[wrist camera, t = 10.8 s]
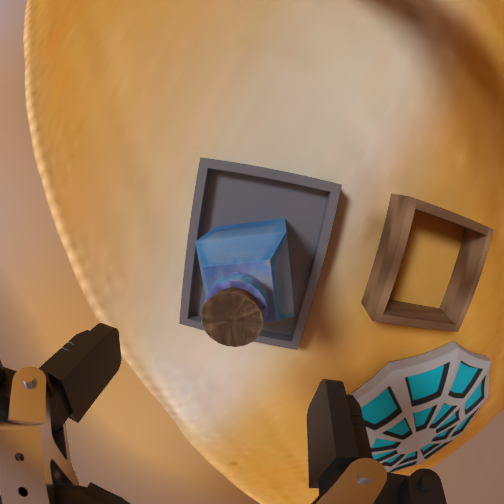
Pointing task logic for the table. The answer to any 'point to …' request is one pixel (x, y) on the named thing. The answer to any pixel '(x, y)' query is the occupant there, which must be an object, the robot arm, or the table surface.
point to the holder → (391, 257)
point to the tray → (261, 209)
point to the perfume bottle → (244, 279)
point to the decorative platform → (422, 403)
